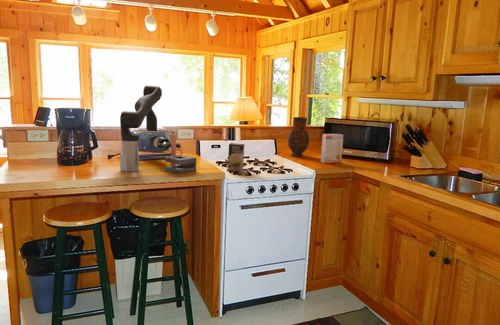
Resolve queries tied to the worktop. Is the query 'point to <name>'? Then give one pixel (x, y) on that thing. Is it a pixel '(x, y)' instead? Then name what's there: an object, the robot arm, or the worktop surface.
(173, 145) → the pin
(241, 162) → the coffee box
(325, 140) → the cracker box
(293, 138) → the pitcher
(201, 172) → the worktop surface
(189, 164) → the clevis
